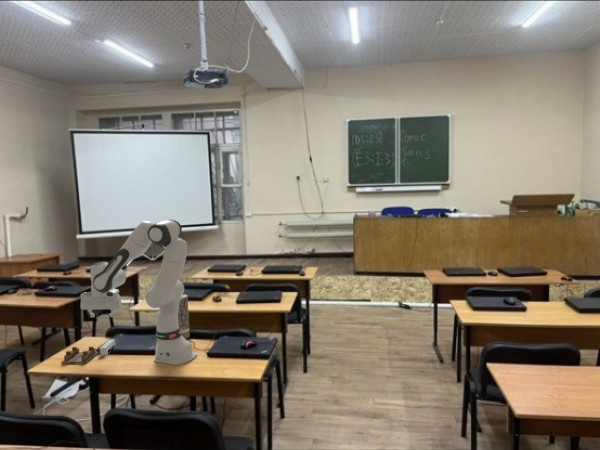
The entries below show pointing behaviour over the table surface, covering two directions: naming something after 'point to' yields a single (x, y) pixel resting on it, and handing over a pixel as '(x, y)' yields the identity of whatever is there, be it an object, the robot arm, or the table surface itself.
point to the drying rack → (79, 356)
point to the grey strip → (106, 347)
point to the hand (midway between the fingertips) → (101, 316)
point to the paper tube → (184, 316)
